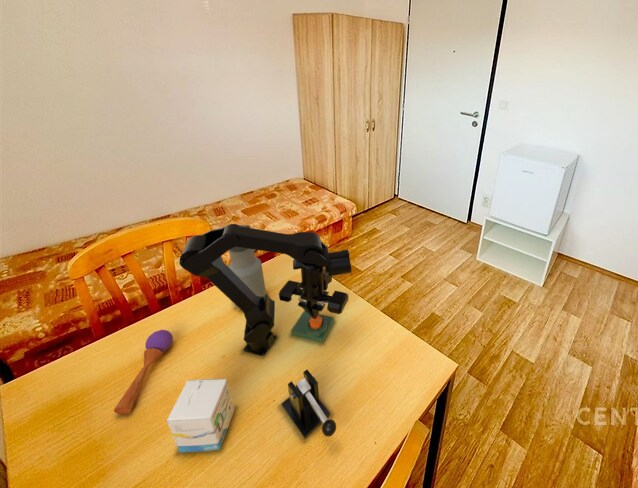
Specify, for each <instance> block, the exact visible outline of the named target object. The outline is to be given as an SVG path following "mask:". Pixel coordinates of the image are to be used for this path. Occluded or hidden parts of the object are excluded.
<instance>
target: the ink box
mask: <svg viewBox="0 0 638 488" xmlns="http://www.w3.org/2000/svg"><path fill="white" fill-rule="evenodd" d="M234 412H235V405H234V403H233V398H232V394H231V390H230V386H229V383H228V379H227V378H204V379H188V380H187V381H186V382H185V384H184V386H183V388H182V390H181V392H180V394H179V396H178V398H177V400H176V401H175V403H174V405H173V407H172V409H171V410H170V413H169V416H168V417H167V419H166V424H167V425H168V428H169V430H170V433H171V435H172V437H173V440H174V442H175V445H176V447H177V449H178V450H177V451H178V452H179V453H181V454H182V453H198V452H199V453H200V452H211V451H219V450H221V448H222V446H223V443H224V440H225V437H226V434H227V431H228V428H229V426H230V423H231V420H232V419H233V415H234Z"/></svg>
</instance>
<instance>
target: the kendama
mask: <svg viewBox="0 0 638 488" xmlns="http://www.w3.org/2000/svg"><path fill="white" fill-rule="evenodd" d="M173 341H174V336H173V334H172V333H171V332H170V331H169V330H167V329H159V330H156V331H154V332H152V333H151V334H150V335H149V336H148V337H147V339H146V340H145V349H144V351H143V366H142V368H141V370H140V371H139V372H138V374H137V375H136V376H135V378H134V379H133V381H132V382H131V384H130V385H129V387H128V388H127V390H126V391H125V393H124V394H123V395H122V397H121V398H120V400H119V401H118V403H117V404H116V406H115V407H114V409H113V412H114V413H115V414H118V415H128V414H130V413H131V412H132V410H133V407H134V405H135V402H136V400H137V398H138V396H139V395H138V394H139V393H140V390H141V388H142V385H143V382H144V380H145V378H146V375H147V372H148V370H149V367H150V366H151V365H153V364H154V363H155V362H156V361H157V360H159V359H160V358H161V357H162V356H163V354H164V353H166V351H167V350H169V349H170V348H171V347H172V344H173Z"/></svg>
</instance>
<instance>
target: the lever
mask: <svg viewBox="0 0 638 488" xmlns="http://www.w3.org/2000/svg"><path fill="white" fill-rule="evenodd" d="M295 386H296V388H297V389H298V390H299V392H300V393H301V394H302V399H303V398H304V397H305V398H306V399H307V401H308V402H309V404H310V405H311V407H312V408H313V410H314V412H315V413H316V415H317V416H318V418H319V419H320V421H321V422H322V424H321V425H322V426H321V432H322V434H323V436H325V437H327V438H330V437H332V436H333V435H334V434H335V433H336V431H337V423H336V420H334V419H332V418H327V417H326V416H325V414H324V413H323V411H322V410H321V408H320V407H319V405H318V404H317V402H316V401H315V399H314V398H313V396H312V394H311V393H310V392H311V386H310V385H309V383H308V382H307V380H306V379H305V378H304V377H303V378H301V380H299V381H298V382H297V383H296V384H295Z"/></svg>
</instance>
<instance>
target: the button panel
mask: <svg viewBox="0 0 638 488" xmlns="http://www.w3.org/2000/svg"><path fill="white" fill-rule="evenodd" d="M318 316H320V317H321V318H322V326H321V327H320V328H318V329H312V328H311V327H310V323H309V321H310V318H311V316H310V315H309V314H308V313H307V312H306V311H305V310H304V309H303V312H302V313H301V314H300V317H298V320H297V321H296V322H295V324H294V326H293V327H292V328H291V331H290V332H291V336H292V337H297V338H301V339H304V340H308V341H312V342H317V343H321V344H324V342H325V340H326V338H327V336H328V334H329V332H330V331H331V329H332V327H333V326H334V324H335V317H334V316H330V315H325V314H322V313H319V314H318Z"/></svg>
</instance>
